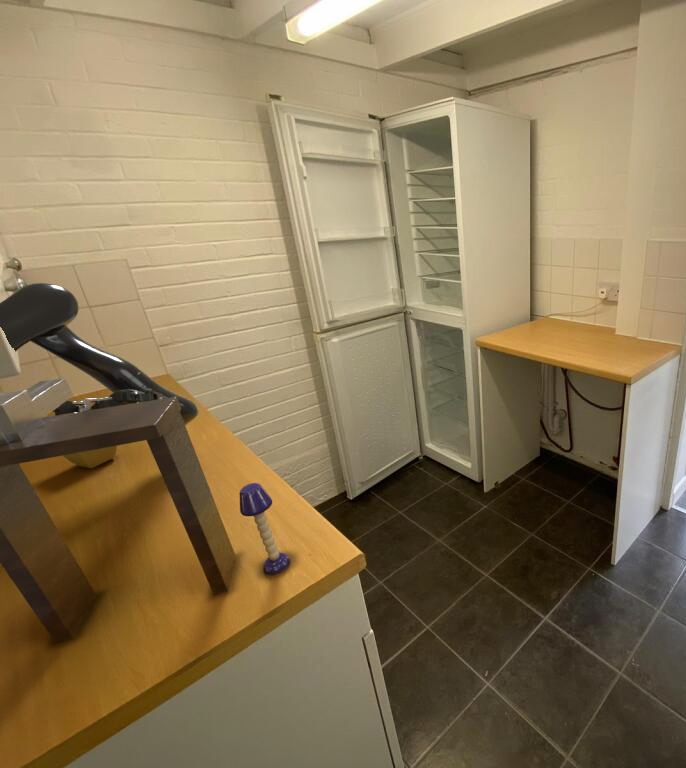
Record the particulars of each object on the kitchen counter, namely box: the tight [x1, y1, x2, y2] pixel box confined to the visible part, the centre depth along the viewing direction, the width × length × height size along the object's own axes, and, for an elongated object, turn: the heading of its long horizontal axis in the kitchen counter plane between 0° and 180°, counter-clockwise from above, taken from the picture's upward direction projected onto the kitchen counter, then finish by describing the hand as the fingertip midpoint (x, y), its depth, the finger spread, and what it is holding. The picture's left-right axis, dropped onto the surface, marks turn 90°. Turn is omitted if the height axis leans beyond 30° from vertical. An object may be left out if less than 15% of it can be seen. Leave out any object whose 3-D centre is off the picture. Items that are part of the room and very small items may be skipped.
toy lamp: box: [239, 482, 291, 576], centre depth 71 cm, size 5×5×17 cm
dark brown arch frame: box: [0, 397, 237, 644], centre depth 62 cm, size 22×10×32 cm, turn 113°
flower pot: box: [62, 445, 118, 469], centre depth 105 cm, size 9×9×9 cm
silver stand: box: [0, 377, 74, 445], centre depth 57 cm, size 5×16×5 cm, turn 23°
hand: (88, 400), depth 71 cm, fingers open, 8 cm apart
